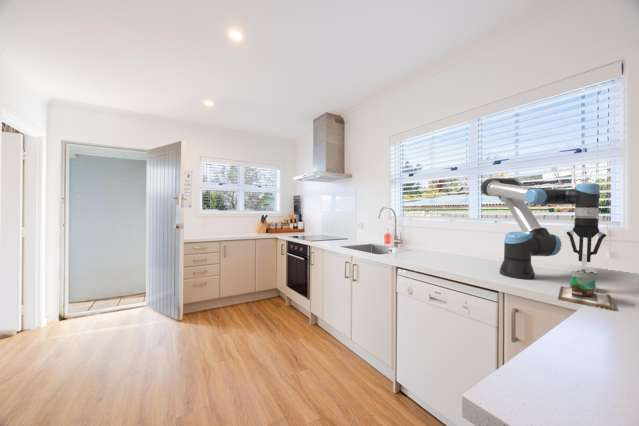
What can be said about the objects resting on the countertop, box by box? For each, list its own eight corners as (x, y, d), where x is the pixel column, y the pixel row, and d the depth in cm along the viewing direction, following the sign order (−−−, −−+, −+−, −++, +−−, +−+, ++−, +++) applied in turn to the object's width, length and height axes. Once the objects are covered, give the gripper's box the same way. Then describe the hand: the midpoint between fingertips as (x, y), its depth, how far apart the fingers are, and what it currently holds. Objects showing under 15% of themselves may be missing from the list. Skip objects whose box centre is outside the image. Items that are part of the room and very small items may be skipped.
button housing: (570, 288, 119) (570, 281, 119) (570, 284, 125) (570, 278, 124) (595, 292, 113) (595, 285, 113) (594, 288, 119) (595, 281, 119)
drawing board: (558, 299, 104) (558, 296, 104) (560, 288, 118) (560, 285, 118) (614, 310, 94) (614, 307, 94) (609, 297, 108) (610, 294, 108)
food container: (591, 300, 100) (592, 275, 99) (570, 295, 105) (571, 271, 105) (601, 295, 106) (603, 271, 106) (581, 290, 111) (582, 267, 111)
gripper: (566, 217, 120) (564, 267, 120) (608, 218, 110) (605, 273, 111) (566, 216, 125) (564, 265, 126) (607, 217, 116) (604, 270, 116)
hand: (583, 268), depth 118 cm, fingers closed
